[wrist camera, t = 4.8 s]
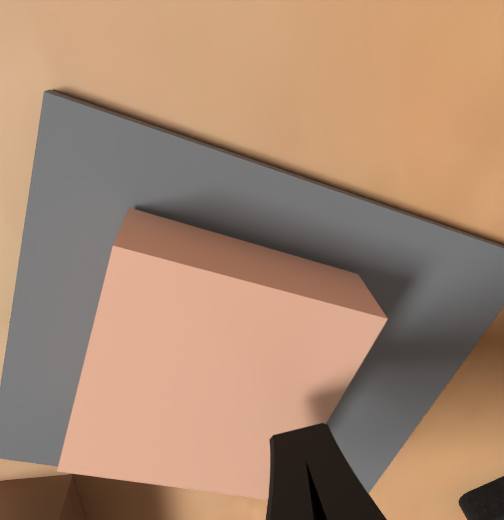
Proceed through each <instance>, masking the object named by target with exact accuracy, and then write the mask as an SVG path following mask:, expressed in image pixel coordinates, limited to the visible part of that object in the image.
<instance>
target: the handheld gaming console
mask: <svg viewBox="0 0 504 520" xmlns="http://www.w3.org/2000/svg"><path fill="white" fill-rule="evenodd" d="M459 505H460V507H461V509H462V511H463V513H464V514H465V516H466V518H467V520H504V476H503V477H501V478H499V479H496V480H494V481H492V482H490V483H487V484H485V485H483V486H480V487H478V488H476V489H474V490H471V491H469V492H467V493H466V494H464V495H463V496H462V497H461V498H460V499H459Z"/></svg>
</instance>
